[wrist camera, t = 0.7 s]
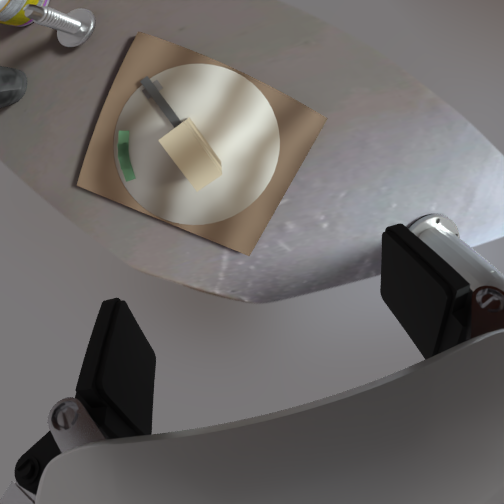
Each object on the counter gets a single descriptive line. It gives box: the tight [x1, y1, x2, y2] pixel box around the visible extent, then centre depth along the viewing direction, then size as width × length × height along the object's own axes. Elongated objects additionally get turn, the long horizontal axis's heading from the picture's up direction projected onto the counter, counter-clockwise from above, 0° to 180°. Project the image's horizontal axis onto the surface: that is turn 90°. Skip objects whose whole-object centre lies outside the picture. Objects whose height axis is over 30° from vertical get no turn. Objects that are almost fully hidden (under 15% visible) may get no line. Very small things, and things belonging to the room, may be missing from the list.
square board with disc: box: [77, 32, 327, 256], centre depth 33 cm, size 23×19×2 cm
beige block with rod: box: [140, 76, 222, 192], centre depth 28 cm, size 12×3×6 cm, turn 33°
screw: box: [23, 4, 96, 47], centre depth 19 cm, size 13×5×5 cm
